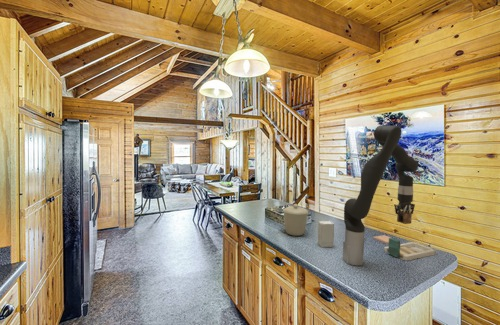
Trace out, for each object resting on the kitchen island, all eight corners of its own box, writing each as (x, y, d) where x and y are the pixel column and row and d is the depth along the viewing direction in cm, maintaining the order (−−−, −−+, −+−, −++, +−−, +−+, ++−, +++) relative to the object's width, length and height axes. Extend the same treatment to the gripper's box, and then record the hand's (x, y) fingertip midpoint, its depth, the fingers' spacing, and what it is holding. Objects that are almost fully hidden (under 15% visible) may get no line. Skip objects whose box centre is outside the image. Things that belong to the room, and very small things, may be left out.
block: (405, 224, 129) (405, 213, 129) (397, 221, 134) (397, 211, 134) (411, 223, 131) (411, 213, 131) (403, 220, 136) (403, 211, 135)
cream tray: (405, 261, 119) (406, 256, 119) (384, 251, 131) (384, 247, 131) (436, 254, 128) (436, 250, 128) (413, 245, 140) (413, 241, 140)
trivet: (387, 244, 141) (387, 242, 141) (373, 238, 151) (373, 236, 151) (398, 242, 145) (398, 240, 145) (384, 236, 154) (384, 235, 154)
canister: (310, 238, 148) (311, 207, 147) (283, 237, 149) (284, 206, 148) (304, 229, 166) (305, 201, 165) (280, 228, 167) (281, 201, 166)
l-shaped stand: (400, 259, 120) (401, 242, 120) (385, 251, 129) (385, 236, 129) (419, 254, 126) (420, 239, 126) (404, 248, 135) (404, 233, 134)
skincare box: (330, 243, 141) (331, 220, 140) (334, 247, 135) (335, 223, 134) (317, 243, 140) (318, 220, 140) (320, 247, 134) (321, 223, 134)
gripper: (402, 195, 126) (401, 224, 127) (420, 193, 130) (418, 222, 131) (390, 192, 133) (389, 220, 134) (407, 191, 138) (406, 218, 138)
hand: (404, 221), depth 133 cm, fingers closed on block, 5 cm apart
